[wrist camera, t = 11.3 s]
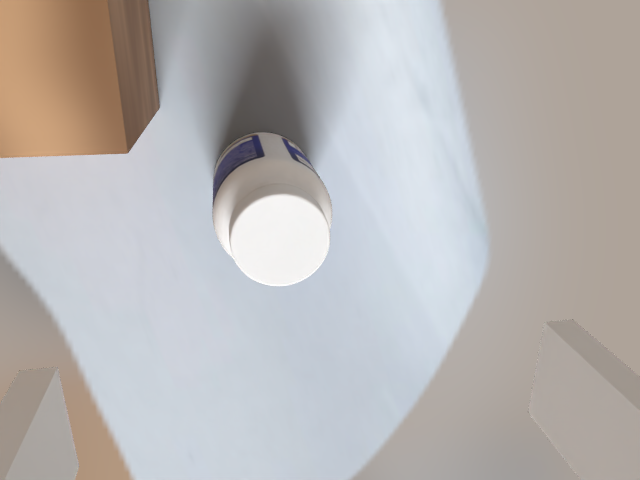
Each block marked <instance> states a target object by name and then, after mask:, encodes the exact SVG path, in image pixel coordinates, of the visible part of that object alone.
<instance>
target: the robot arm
mask: <svg viewBox="0 0 640 480" xmlns="http://www.w3.org/2000/svg"><path fill="white" fill-rule="evenodd" d="M528 413H529V414H530V416H531V417H532V418H533V420H534V421H535V422H536V423H537V425H538V426H539V427H540V429H541V430H542V431H543V432H544V433H545V435H546V436H547V437H548V439H549V440H550V441H551V443H552V444H553V445H554V446H555V448H556V449H557V450H558V451H559V453H560V454H561V455H562V456H563V458H564V459H565V460H566V462H567V463H568V464H569V465H570V467H571V468H572V469H573V471H574V472H575V473H576V475H577V476H578V477H579V478H580V480H640V376H639V375H638V374H636V373H635V372H634V371H633V370H632V369H631V368H629V367H628V366H627V365H626V364H625V363H623V362H622V361H621V360H620V359H619V358H617V356H615V355H614V354H613V353H612V352H610V351H609V350H608V349H607V348H606V347H605V346H604V345H602V344H601V343H600V342H599V341H598V340H597V339H595V338H594V337H593V336H592V335H591V334H589V333H588V332H587V331H586V330H585V329H584V328H582V327H581V326H580V325H579V324H578V323H576V322H575V321H574V320H573V319H572V320H562V321H550V322H545V323H544V327H543V333H542V338H541V344H540V349H539V354H538V360H537V366H536V371H535V376H534V381H533V387H532V392H531V398H530V403H529V408H528ZM78 468H79V463H78V458H77V454H76V449H75V445H74V440H73V436H72V431H71V426H70V422H69V417H68V412H67V408H66V404H65V399H64V394H63V390H62V385H61V380H60V376H59V371H58V367H52V368H41V369H30V370H19V371H18V373H17V375H16V377H15V378H14V380H13V382H12V384H11V386H10V387H9V389H8V391H7V392H6V394H5V396H4V397H3V399H2V401H1V403H0V480H75V478H76V475H77V472H78Z"/></svg>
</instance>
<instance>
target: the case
mask: <svg viewBox="0 0 640 480" xmlns="http://www.w3.org/2000/svg"><path fill="white" fill-rule="evenodd" d="M159 108H160V106H159V97H158V88H157V79H156V69H155V60H154V51H153V42H152V32H151V23H150V14H149V4H148V0H0V158H9V157H38V156H67V155H96V154H126V153H128V152H129V151H130V150H131V148H132V147H133V145H134V144H135V142H136V141H137V140H138V138H139V137H140V135H141V134H142V132H143V131H144V130H145V128H146V127H147V125H148V124H149V122H150V121H151V120H152V118H153V117H154V115H155V114H156V112H157V111H158V110H159Z"/></svg>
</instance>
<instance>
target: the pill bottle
mask: <svg viewBox="0 0 640 480" xmlns="http://www.w3.org/2000/svg"><path fill="white" fill-rule="evenodd" d="M331 222H332V205H331V200H330V197H329V194H328V191H327V189H326V187H325V185H324V183H323V182H322V180H321V179H320V177H319V176H318V174H317V173H316V171H315V170H314V168H313V166H312V165H311V163H310V162H309V160H308V159H307V157H306V156H305V154H304V153H303V152H302V150H301V149H300V148H299V147H298V146H297V145H296V144H295V143H293V142H292V141H290V140H289V139H287V138H285V137H283V136H280V135H277V134H273V133H266V132H259V133H252V134H248V135H245V136H243V137H241V138H239V139H237V140H235V141H234V142H233V143H231V144H230V145H229V146H228V147H227V148H226V149H225V150H224V151H223V153H222V154H221V156H220V158H219V160H218V162H217V164H216V167H215V171H214V178H213V223H214V228H215V232H216V235H217V237H218V239H219V241H220V243H221V245H222V246H223V248H224V249H225V250H226V252H227V253H228V254H229V255H230V256H231V257H232V258H234V261H235V262H236V264H237V265H238V267H239V268H240V269H241V271H243V272H244V273H245V274H246V275H247V276H248V277H250V278H251V279H253V280H255V281H257V282H259V283H262V284H266V285H271V286H285V285H291V284H294V283H297V282H300V281H302V280H304V279H306V278H307V277H308V276H310V275H311V274H313V273H314V272H315V271H316V270H317V269H318V268H319V267H320V265H321V264H322V263H323V261H324V259H325V257H326V255H327V252H328V249H329V245H330V227H331Z"/></svg>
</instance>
